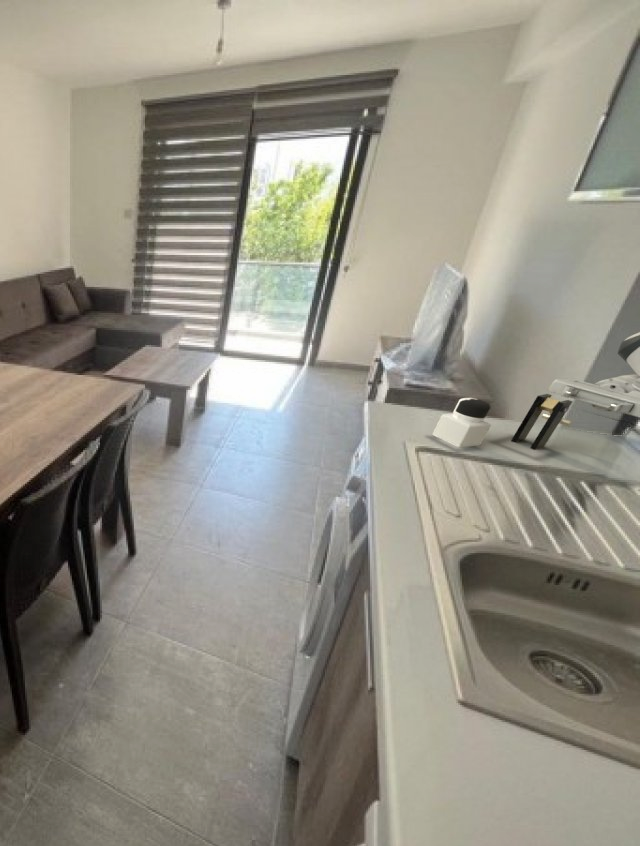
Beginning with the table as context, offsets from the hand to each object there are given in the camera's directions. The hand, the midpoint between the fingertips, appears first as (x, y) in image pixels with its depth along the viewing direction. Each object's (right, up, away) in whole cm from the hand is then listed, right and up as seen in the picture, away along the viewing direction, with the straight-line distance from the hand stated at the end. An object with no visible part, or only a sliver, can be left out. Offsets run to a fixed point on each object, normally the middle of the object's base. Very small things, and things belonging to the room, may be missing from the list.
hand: (588, 400), depth 124 cm
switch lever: (-16, -4, -6) cm, 18 cm away
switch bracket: (-20, -13, -3) cm, 23 cm away
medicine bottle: (-37, -12, -2) cm, 39 cm away
